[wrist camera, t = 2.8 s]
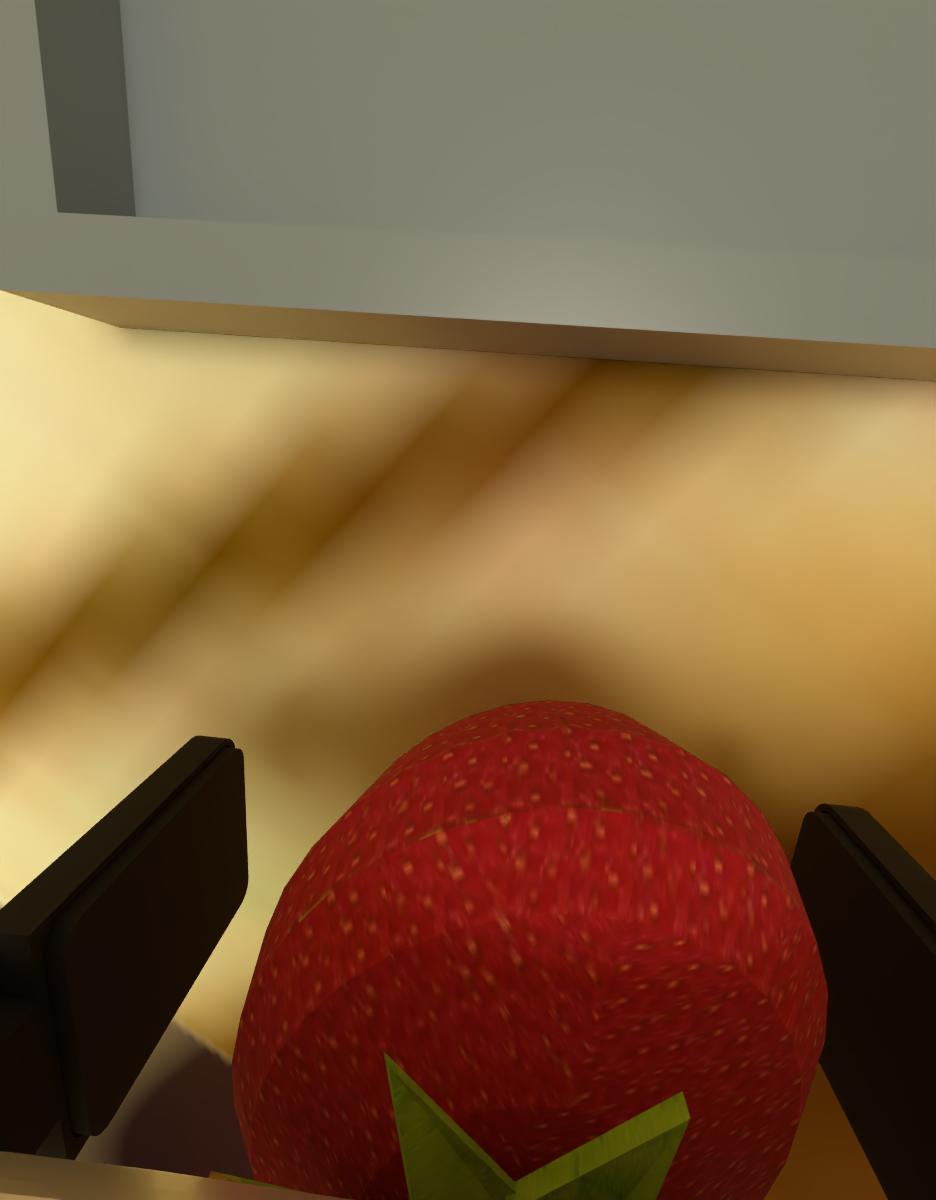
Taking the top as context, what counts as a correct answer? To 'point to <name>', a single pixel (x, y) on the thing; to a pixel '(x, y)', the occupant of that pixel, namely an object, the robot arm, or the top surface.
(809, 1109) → the top surface
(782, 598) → the top surface
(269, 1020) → the strawberry
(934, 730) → the top surface
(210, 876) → the robot arm
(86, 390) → the top surface
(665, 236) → the tray
